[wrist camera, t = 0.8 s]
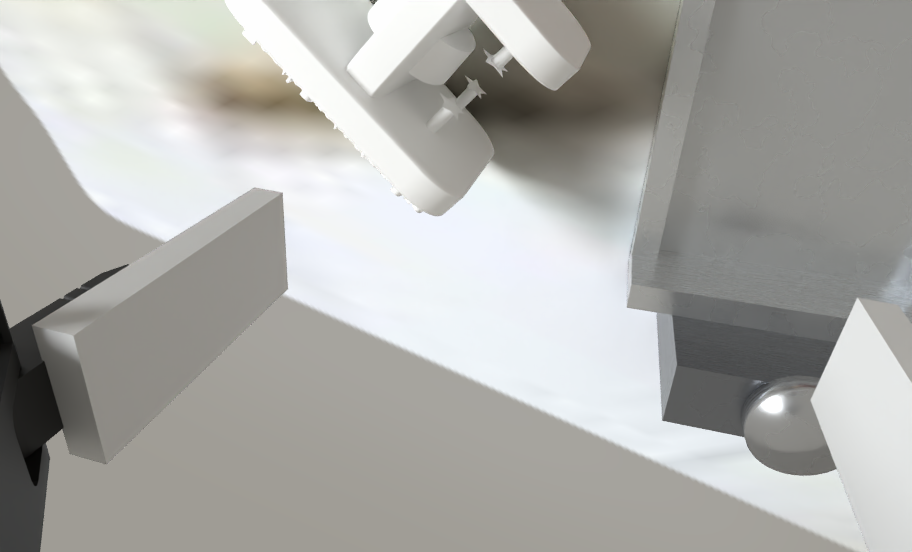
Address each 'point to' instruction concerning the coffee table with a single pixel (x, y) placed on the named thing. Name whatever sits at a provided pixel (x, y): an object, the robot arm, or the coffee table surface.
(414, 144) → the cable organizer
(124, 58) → the coffee table surface
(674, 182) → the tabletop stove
